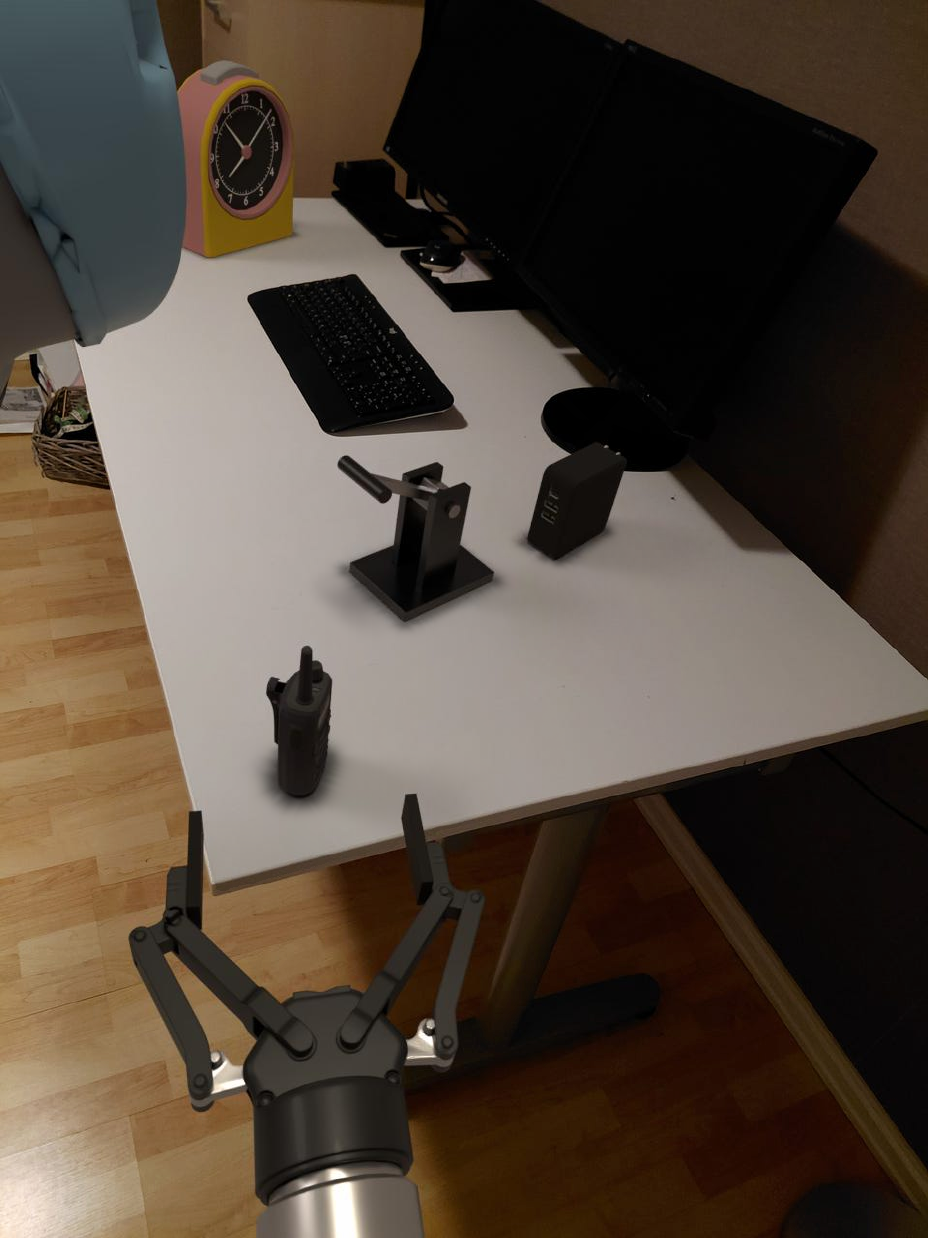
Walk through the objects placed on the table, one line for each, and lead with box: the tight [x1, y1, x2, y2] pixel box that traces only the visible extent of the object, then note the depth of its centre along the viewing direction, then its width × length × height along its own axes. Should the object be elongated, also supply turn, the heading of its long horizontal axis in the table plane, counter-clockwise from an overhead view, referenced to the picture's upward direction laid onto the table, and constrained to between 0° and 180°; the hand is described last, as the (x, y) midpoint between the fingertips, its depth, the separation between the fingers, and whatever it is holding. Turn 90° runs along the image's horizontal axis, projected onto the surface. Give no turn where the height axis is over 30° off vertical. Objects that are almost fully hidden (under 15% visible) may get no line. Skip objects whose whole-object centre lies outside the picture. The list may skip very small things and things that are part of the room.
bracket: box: [348, 461, 495, 622], centre depth 83 cm, size 12×9×12 cm
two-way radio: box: [265, 645, 333, 796], centre depth 62 cm, size 6×4×15 cm
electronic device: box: [526, 441, 628, 560], centre depth 93 cm, size 4×10×10 cm, turn 137°
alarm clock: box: [177, 59, 295, 259], centre depth 140 cm, size 21×9×26 cm, turn 147°
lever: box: [336, 454, 450, 510], centre depth 77 cm, size 12×6×2 cm, turn 132°
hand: (305, 813), depth 55 cm, fingers open, 13 cm apart
